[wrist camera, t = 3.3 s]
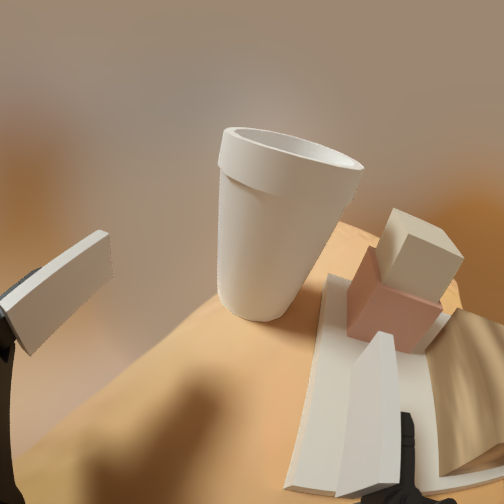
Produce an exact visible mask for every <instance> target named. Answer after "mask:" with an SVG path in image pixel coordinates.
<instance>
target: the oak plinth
mask: <svg viewBox="0 0 504 504" xmlns="http://www.w3.org/2000/svg"><path fill="white" fill-rule="evenodd" d="M425 354H426V359H427V364H428V369H429V374H430V380H431V386H432V392H433V399H434V406H435V415H436V424H437V436H438V454H439V477H447V476H455V475H462V474H468V473H474V472H479V471H484V470H488V469H493V468H497V467H501V466H504V325H501V324H499V323H496V322H493V321H491V320H488V319H486V318H483V317H481V316H478V315H475V314H473V313H470V312H467V311H465V310H462V309H459V308H457V309H456V310H455V312H454V313H453V314H452V316H451V317H450V319H449V320H448V321H447V323H446V324H445V325H444V327H443V328H442V329H441V331H440V332H439V333H438V334H437V336H436V337H435V338H434V339H433V341H432V342H431V343H430V344H429V345H428V347H427V348H426V349H425Z"/></svg>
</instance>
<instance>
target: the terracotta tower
mask: <svg viewBox="0 0 504 504" xmlns="http://www.w3.org/2000/svg"><path fill="white" fill-rule="evenodd" d="M463 260H464V258H463V256H462V255H461V253H460V252H459V251H458V249H457V248H456V247H455V245H454V244H453V243H452V241H451V240H450V239H449V237H448V236H447V235H446V234H445V232H444V231H443V230H442V229H440V228H438V227H436V226H434V225H432V224H429V223H427V222H425V221H423V220H421V219H418V218H416V217H414V216H412V215H409V214H407V213H405V212H402V211H400V210H398V209H395V208H393V210H392V213H391V215H390V218H389V220H388V222H387V225H386V227H385V229H384V232H383V234H382V236H381V238H380V240H379V242H378V245H377V247H376V248H373V247H371V246H369V247H368V249H367V251H366V253H365V256H364V258H363V260H362V262H361V264H360V266H359V268H358V270H357V272H356V274H355V276H354V278H353V280H352V282H351V284H350V286H349V288H348V290H347V337H350V338H354V339H357V340H360V341H364V342H367V343H370V342H371V341H372V339H373V338H374V336H375V335H376V334H377V332H378V331H382V332H385V333H388V334H392V335H393V338H394V345H395V350H396V351H400V352H403V353H407V354H409V353H410V352H411V351H412V350H413V349H414V347H415V346H416V345H417V344H418V343H419V341H420V340H421V339H422V338H423V336H424V335H425V334H426V332H427V331H428V330H429V328H430V327H431V326H432V325H433V323H434V322H435V320H436V319H437V318H438V316H439V315H440V314H441V312H442V311H443V308H442V305H441V303H440V298H441V297H442V295H443V294H444V292H445V291H446V289H447V287H448V286H449V284H450V283H451V281H452V279H453V278H454V276H455V274H456V273H457V271H458V269H459V267H460V266H461V264H462V262H463Z"/></svg>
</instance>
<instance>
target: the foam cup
mask: <svg viewBox="0 0 504 504" xmlns="http://www.w3.org/2000/svg"><path fill="white" fill-rule="evenodd" d="M218 166H219V167H220V189H219V218H218V266H217V267H218V268H217V286H218V295H219V298H220V300H221V303H222V304H223V305H224V306H225V307H226V308H227V309H228V310H229V311H230V312H232V313H233V314H234V315H237V316H239V317H242V318H244V319H247V320H249V321H264V322H268V321H271V320H274V319H276V318H279V317H281V316H282V315H283V314H284V313H285V312H286V310H287V309H288V308H289V306H290V304H291V303H292V302H293V300H294V298H295V297H296V295H297V293H298V292H299V290H300V288H301V287H302V285H303V283H304V282H305V280H306V278H307V277H308V275H309V273H310V271H311V270H312V268H313V266H314V265H315V263H316V261H317V259H318V258H319V256H320V254H321V252H322V251H323V249H324V247H325V245H326V243H327V242H328V240H329V238H330V236H331V234H332V233H333V231H334V229H335V227H336V225H337V223H338V221H339V220H340V218H341V216H342V214H343V212H344V210H345V208H346V206H348V204H350V202H351V201H352V200H353V199H354V196H355V194H356V191H357V188H358V185H359V182H360V179H361V176H362V174H363V170H364V167H363V166H362V165H361V164H360V163H359V162H357V161H356V160H354V159H352V158H350V157H348V156H346V155H344V154H342V153H340V152H338V151H335V150H333V149H330V148H328V147H325V146H322V145H320V144H317V143H314V142H310V141H308V140H304V139H301V138H297V137H294V136H290V135H286V134H281V133H276V132H272V131H267V130H260V129H253V128H242V127H230V128H227V129H226V130H224V133H223V138H222V143H221V149H220V154H219V159H218Z"/></svg>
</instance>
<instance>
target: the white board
mask: <svg viewBox="0 0 504 504" xmlns="http://www.w3.org/2000/svg"><path fill="white" fill-rule="evenodd" d="M351 282H352V281H350V280H347V279H344V278H341V277H338V276H336V275H333V274H330V273H328V275H327V278H326V280H325V282H324V284H323V291H322V300H321V308H320V315H319V322H318V329H317V336H316V342H315V349H314V355H313V361H312V366H311V372H310V378H309V383H308V388H307V393H306V398H305V403H304V408H303V412H302V417H301V421H300V426H299V430H298V434H297V438H296V443H295V447H294V451H293V454H292V458H291V462H290V466H289V469H288V473H287V476H286V480H285V483H284V487H283V489H287V490H292V491H297V492H303V493H309V494H317V495H325V496H334V497H335V494H336V489H337V484H338V479H339V473H340V467H341V461H342V454H343V447H344V440H345V431H346V422H347V412H348V401H349V387H350V369H351V367H352V366H353V364H354V363H355V362H356V360H357V359H358V358H359V357H360V355H361V354H362V353H363V351H364V350H365V349H366V347H367V346H368V345H369V343H367V342H364V341H360V340H357V339H354V338H350V337H347V290H348V288H349V286H350V284H351ZM450 317H451V315H448V314H445V313H442V312H441V314H440V315H439V316H438V318H437V319H436V320H435V322H434V323H433V325H432V326H431V327H430V328H429V330H428V331H427V332H426V334H425V335H424V336H423V338H422V339H421V340H420V341H419V343H418V344H417V345H416V346H415V347H414V349H413V350H412V351H411V352H410V353H409V354H407V353H403V352H400V351H396V350H395V353H396V361H397V371H398V381H399V395H400V411H401V412H408V413H410V414H411V417H412V419H413V422H414V427H415V437H414V439H415V446H414V448H415V487H416V488H418V489H419V490H420V492H421V493H422V496H428V495H436V494H443V493H449V492H454V491H459V490H464V489H468V488H473V487H477V486H481V485H484V484H488V483H491V482H495V481H498V480H501V479H504V466H501V467H497V468H493V469H488V470H484V471H479V472H474V473H468V474H462V475H455V476H447V477H439V454H438V436H437V424H436V415H435V406H434V399H433V392H432V386H431V380H430V374H429V369H428V364H427V359H426V354H425V349H426V348H427V347H428V345H429V344H430V343H431V342H432V341H433V339H434V338H435V337H436V336H437V334H438V333H439V332H440V331H441V329H442V328H443V327H444V325H445V324H446V323H447V321H448V320H449V319H450ZM361 497H362V496H361ZM361 497H358V498H361Z"/></svg>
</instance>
